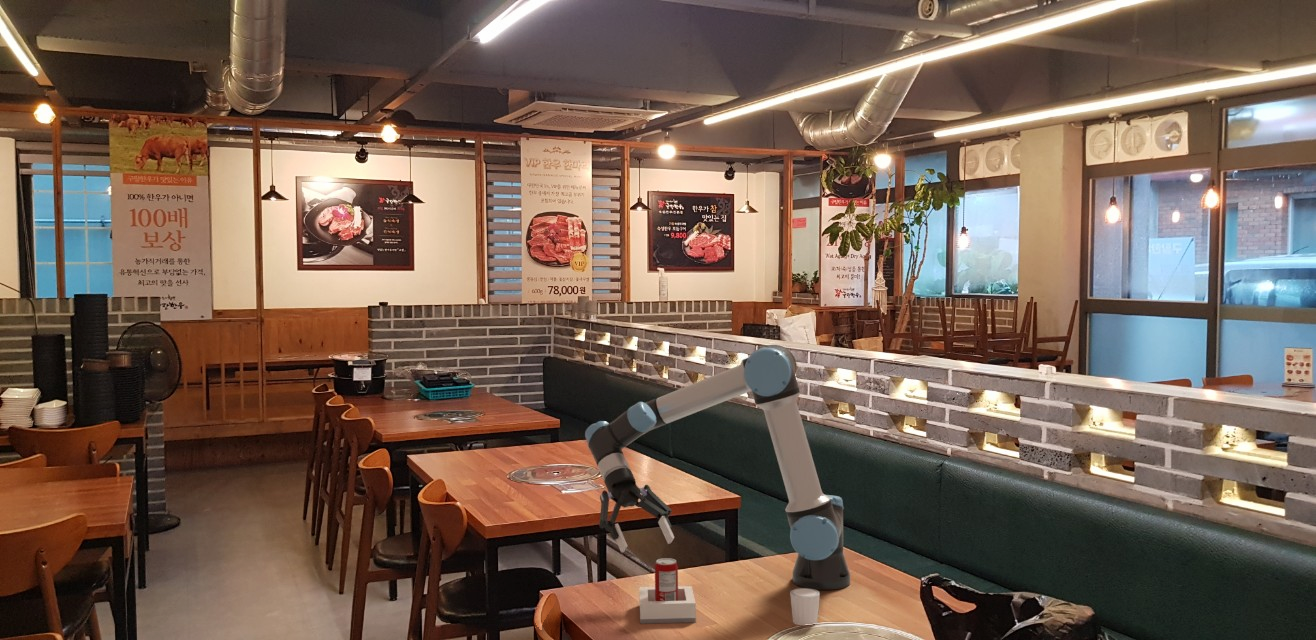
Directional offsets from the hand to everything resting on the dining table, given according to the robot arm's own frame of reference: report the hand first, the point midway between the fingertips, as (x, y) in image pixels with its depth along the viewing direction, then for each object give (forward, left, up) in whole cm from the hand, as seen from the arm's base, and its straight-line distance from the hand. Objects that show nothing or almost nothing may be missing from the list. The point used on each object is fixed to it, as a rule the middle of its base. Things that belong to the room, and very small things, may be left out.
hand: (648, 545), depth 236 cm
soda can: (-4, +6, -14) cm, 16 cm away
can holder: (-4, +6, -15) cm, 17 cm away
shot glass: (-36, +14, -15) cm, 42 cm away
